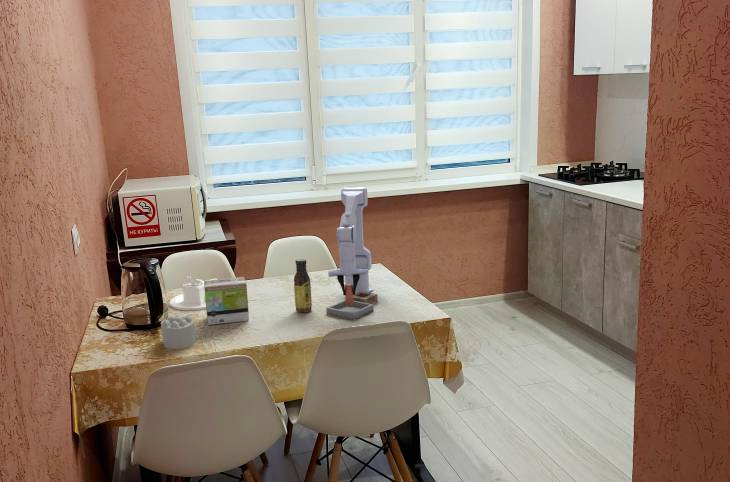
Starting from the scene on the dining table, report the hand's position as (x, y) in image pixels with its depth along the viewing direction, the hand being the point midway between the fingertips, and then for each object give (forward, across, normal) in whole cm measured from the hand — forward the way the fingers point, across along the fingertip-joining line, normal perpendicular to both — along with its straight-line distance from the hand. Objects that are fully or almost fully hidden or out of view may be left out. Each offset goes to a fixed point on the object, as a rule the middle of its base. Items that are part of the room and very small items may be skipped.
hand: (349, 294), depth 243 cm
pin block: (+7, +5, +11) cm, 14 cm away
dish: (+8, -60, +26) cm, 66 cm away
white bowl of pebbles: (+8, -58, -21) cm, 62 cm away
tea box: (+7, -46, 0) cm, 46 cm away
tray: (+7, 0, 0) cm, 7 cm away
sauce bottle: (+7, -18, +6) cm, 20 cm away
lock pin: (+4, 0, 0) cm, 4 cm away
